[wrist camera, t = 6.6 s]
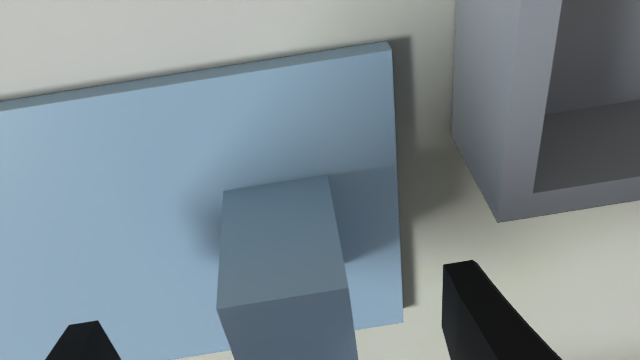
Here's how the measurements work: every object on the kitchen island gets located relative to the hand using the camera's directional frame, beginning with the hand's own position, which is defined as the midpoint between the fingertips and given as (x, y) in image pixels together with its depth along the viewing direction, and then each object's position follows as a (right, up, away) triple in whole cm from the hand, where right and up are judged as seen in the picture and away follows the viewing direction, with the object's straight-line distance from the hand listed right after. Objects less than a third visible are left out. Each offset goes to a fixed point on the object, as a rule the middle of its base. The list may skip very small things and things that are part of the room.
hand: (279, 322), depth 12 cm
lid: (-4, +2, +3) cm, 5 cm away
